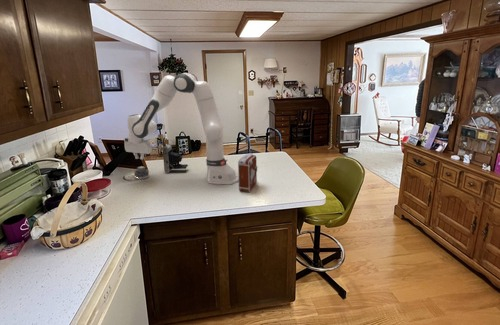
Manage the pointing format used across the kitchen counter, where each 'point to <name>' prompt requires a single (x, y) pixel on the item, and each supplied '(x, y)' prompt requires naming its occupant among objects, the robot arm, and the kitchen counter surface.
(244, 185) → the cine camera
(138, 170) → the lens cap
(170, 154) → the vintage camera
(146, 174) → the lens barrel
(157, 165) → the kitchen counter surface
